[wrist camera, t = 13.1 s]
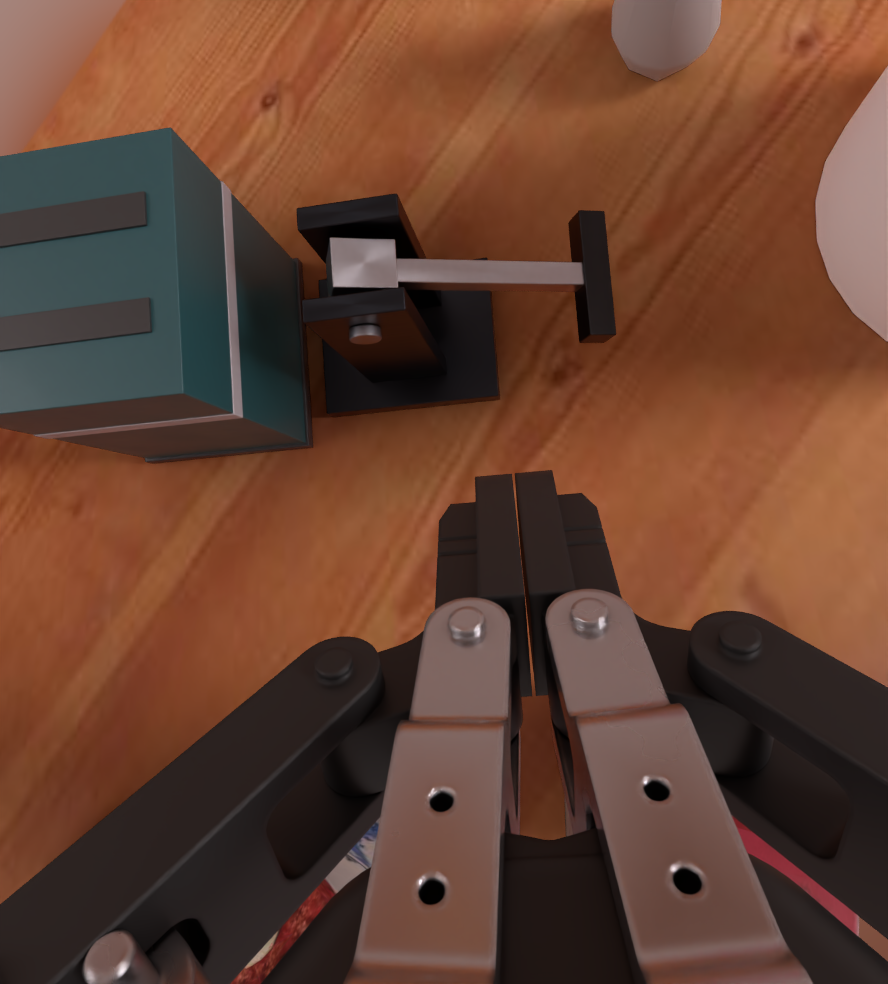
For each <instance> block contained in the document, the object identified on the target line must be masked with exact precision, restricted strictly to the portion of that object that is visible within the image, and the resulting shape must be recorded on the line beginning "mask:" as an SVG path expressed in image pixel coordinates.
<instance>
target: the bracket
mask: <svg viewBox="0 0 888 984" xmlns="http://www.w3.org/2000/svg"><path fill="white" fill-rule="evenodd" d="M297 226H298V231H299V232H300V233H301V234H302V236H303V237H304V238H305V239H306V240H307V242H308V243H309V244H310V245H311V247H312V248H313V249H314V250H315V251H316V253H317V254H318V255H319V256H320V258H321V259H322V260H323V261H324V262H325V264H326V257H327V251H328V245H329V239H330V238H331V237H336V238H372V239H395V246H396V258H405V259H426V257H425V254H424V252H423V250H422V248H421V246H420V243H419V241H418V239H417V237H416V235H415V232H414V230H413V228H412V226H411V224H410V221H409V219H408V217H407V215H406V212H405V210H404V208H403V206H402V204H401V201H400V199H399V197H398V195H397V194H389V195H383V196H376V197H369V198H363V199H356V200H349V201H343V202H336V203H329V204H322V205H316V206H309V207H302V208H297ZM473 260H488V259H487V258H481V259H473ZM319 296H320V298H314V299H306V300H302V309H303V322H304V323H305V324H306V325H307V326H308V327H309V328H310V329H312V330H313V331H314V332H315V333H316V334H317V335H318V336H320V337H321V338H322V344H323V360H324V376H325V391H326V407H327V414H329V415H330V416H332V417H340V416H349V415H359V414H368V413H378V412H387V411H397V410H406V409H416V408H425V407H435V406H444V405H454V404H463V403H473V402H482V401H492V400H500V391H499V378H498V366H497V354H496V342H495V330H494V318H493V306H492V294H491V291H462V290H405V288H404V287H399V288H391V289H383V290H376V291H368V292H360V293H353V294H345V295H337V296H329V297H328V287H327V279H324V280H319Z"/></svg>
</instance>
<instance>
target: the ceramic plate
mask: <svg viewBox="0 0 888 984" xmlns="http://www.w3.org/2000/svg"><path fill="white" fill-rule="evenodd" d="M379 821H380V818H379V819H378V820H377V821H376V822H375V824H374V825H373V826H372V827H371V828H370V829H369V830H368V831H367V832H366V834H365V835H364V836H363V837H362V838H361V839H360V840H359V841H358V842H357V844H356V845H355V846H354V847H353V848H352V849H351V850H350V851H349V852H348V854H347V855H346V856H345V857H344V858H343V859H342V860H341V861H340V862H339V864H338V865H337V866H336V867H335V868H334V869H333V870H332V871H331V872H330V874H329V875H328V876H327V877H326V878H325V879H324V880H323V881H322V882H321V883H320V885H319V886H318V887H317V888H316V889H315V890H314V891H313V892H312V893H311V895H310V896H309V897H308V898H307V899H306V900H305V901H304V902H303V903H302V905H301V906H300V907H299V908H298V909H297V910H296V911H295V912H294V913H293V915H292V916H291V917H290V918H289V919H288V920H287V921H286V922H285V923H284V925H283V926H282V927H281V928H280V929H279V930H278V931H277V932H276V933H275V935H274V936H273V937H272V938H271V939H270V940H269V941H268V942H267V943H266V945H265V946H264V947H263V948H262V949H261V950H260V951H259V952H258V953H257V954H256V956H255V957H254V958H253V959H252V960H251V961H250V962H249V963H248V964H247V966H246V967H245V968H244V969H243V970H242V971H241V972H240V973H239V974H238V976H237V977H236V978H235V979H234V980H233V981H232V982H231V983H230V984H261V983H262V981H263V980H264V979H265V978H266V977H267V975H268V974H269V973H270V972H271V971H272V969H273V968H274V967H275V966H276V965H277V963H278V962H279V961H280V960H281V958H282V957H283V956H284V955H285V954H286V952H287V951H288V950H289V949H290V948H291V946H292V945H293V944H294V943H295V941H296V940H297V939H298V938H299V937H300V935H301V934H302V933H303V932H304V931H305V929H306V928H307V927H308V926H309V924H310V923H311V922H312V921H313V920H314V918H315V917H316V916H317V915H318V913H319V912H320V911H321V910H322V909H323V907H324V906H325V905H326V904H327V903H328V902H329V901H330V899H331V898H332V897H333V896H334V895H335V894H336V893H338V892H339V891H340V890H341V889H342V888H343V887H344V886H345V885H346V884H347V883H348V882H350V881H351V880H352V879H354V878H355V877H356V876H358V875H359V874H360V873H361V872H363V871H365V870H366V869H368V868H370V867H371V865H372V860H373V854H374V849H375V843H376V838H377V832H378V827H379Z"/></svg>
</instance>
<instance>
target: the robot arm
mask: <svg viewBox="0 0 888 984" xmlns="http://www.w3.org/2000/svg"><path fill="white" fill-rule="evenodd" d="M515 483H516V496H517V510H518V523H519V537H520V546H519V537H518V527H517V518H516V509H515V499H514V490H513V481H512V474H503V475H492V476H480V477H475V491H476V502H472V503H460V504H450V506H449V507H448V509H447V510H446V512H445V513H444V515H443V516H442V517H441V519H440V520H439V536H438V539H439V542H438V558H437V579H436V601H435V611H434V612H432V614H431V615H430V616H429V618H428V619H427V621H426V624H425V628H424V631H423V632H422V633H421V634H419V635H418V636H417V637H415V638H414V639H412V640H410V641H408V642H406V643H404V644H402V645H399V646H396V647H393V648H390V649H387V650H384V651H381V652H378V653H377V651H376V649H375V648H374V647H373V646H372V645H371V644H370V643H368V642H367V641H364V640H362V639H359V638H355V637H336V638H331V639H327V640H324V641H322V642H320V643H317V644H316V645H314V646H312V647H311V648H309V649H308V650H306V651H305V652H304V653H303V654H302V655H300V656H299V657H298V658H297V659H296V660H294V661H293V662H292V663H291V664H290V665H288V666H287V667H286V668H285V669H283V670H282V671H281V672H280V673H279V674H277V675H276V676H275V677H274V678H273V679H271V680H270V681H269V682H268V683H267V684H265V685H264V686H263V687H262V688H261V689H259V690H258V691H257V692H256V693H255V694H253V695H252V696H251V697H250V698H249V699H247V700H246V701H245V702H244V703H243V704H241V705H240V706H239V707H238V708H236V709H235V710H234V711H233V712H232V713H230V714H229V715H228V716H227V717H226V718H224V719H223V720H222V721H221V722H220V723H218V724H217V725H216V726H215V727H214V728H212V729H211V730H210V731H209V732H208V733H206V734H205V735H204V736H203V737H202V738H200V739H199V740H198V741H197V742H196V743H194V744H193V745H192V746H191V747H189V748H188V749H187V750H186V751H185V752H183V753H182V754H181V755H180V756H179V757H177V758H176V759H175V760H174V761H173V762H171V763H170V764H169V765H168V766H167V767H165V768H164V769H163V770H162V771H161V772H159V773H158V774H157V775H156V776H155V777H153V778H152V779H151V780H150V781H148V782H147V783H146V784H145V785H144V786H142V787H141V788H140V789H139V790H138V791H136V792H135V793H134V794H133V795H132V796H130V797H129V798H128V799H127V800H126V801H124V802H123V803H122V804H121V805H120V806H118V807H117V808H116V809H115V810H114V811H112V812H111V813H110V814H109V815H108V816H106V817H105V818H104V819H103V820H101V821H100V822H99V823H98V824H97V825H95V826H94V827H93V828H92V829H91V830H89V831H88V832H87V833H86V834H85V835H83V836H82V837H81V838H80V839H79V840H77V841H76V842H75V843H74V844H73V845H71V846H70V847H69V848H68V849H67V850H65V851H64V852H63V853H62V854H61V855H59V856H58V857H57V858H56V859H54V860H53V861H52V862H51V863H50V864H48V865H47V866H46V867H45V868H44V869H42V870H41V871H40V872H39V873H38V874H36V875H35V876H34V877H33V878H32V879H30V880H29V881H28V882H27V883H26V884H24V885H23V886H22V887H21V888H20V889H18V890H17V891H16V892H15V893H14V894H12V895H11V896H10V897H9V898H7V899H6V900H5V901H4V902H3V903H1V904H0V984H230V983H231V982H232V981H233V980H234V979H235V978H236V977H237V976H238V974H239V973H240V972H241V971H242V970H243V969H244V968H245V967H246V966H247V964H248V963H249V962H250V961H251V960H252V959H253V958H254V957H255V956H256V954H257V953H258V952H259V951H260V950H261V949H262V948H263V947H264V946H265V945H266V943H267V942H268V941H269V940H270V939H271V938H272V937H273V936H274V935H275V933H276V932H277V931H278V930H279V929H280V928H281V927H282V926H283V925H284V923H285V922H286V921H287V920H288V919H289V918H290V917H291V916H292V915H293V913H294V912H295V911H296V910H297V909H298V908H299V907H300V906H301V905H302V903H303V902H304V901H305V900H306V899H307V898H308V897H309V896H310V895H311V893H312V892H313V891H314V890H315V889H316V888H317V887H318V886H319V885H320V883H321V882H322V881H323V880H324V879H325V878H326V877H327V876H328V875H329V874H330V872H331V871H332V870H333V869H334V868H335V867H336V866H337V865H338V864H339V862H340V861H341V860H342V859H343V858H344V857H345V856H346V855H347V854H348V852H349V851H350V850H351V849H352V848H353V847H354V846H355V845H356V844H357V842H358V841H359V840H360V839H361V838H362V837H363V836H364V835H365V834H366V832H367V831H368V830H369V829H370V828H371V827H372V826H373V825H374V824H375V822H376V821H377V820H378V819H379V818H380V821H379V827H378V832H377V838H376V843H375V849H374V854H373V860H372V865H371V867H370V868H368V869H366V870H365V871H363V872H361V873H360V874H359V875H358V876H356V877H355V878H354V879H352V880H351V881H350V882H348V883H347V884H346V885H345V886H344V887H343V888H342V889H341V890H340V891H339V892H338V893H336V894H335V895H334V896H333V897H332V898H331V899H330V901H329V902H328V903H327V904H326V905H325V906H324V907H323V909H322V910H321V911H320V912H319V913H318V915H317V916H316V917H315V918H314V920H313V921H312V922H311V923H310V924H309V926H308V927H307V928H306V929H305V931H304V932H303V933H302V934H301V935H300V937H299V938H298V939H297V940H296V941H295V943H294V944H293V945H292V946H291V948H290V949H289V950H288V951H287V952H286V954H285V955H284V956H283V957H282V958H281V960H280V961H279V962H278V963H277V965H276V966H275V967H274V968H273V969H272V971H271V972H270V973H269V974H268V975H267V977H266V978H265V979H264V980H263V981H262V983H261V984H888V962H887V961H886V960H885V959H884V958H883V957H882V956H881V955H879V954H878V953H877V952H876V951H875V950H874V949H872V948H871V947H870V946H868V944H867V943H865V942H864V941H863V940H862V939H861V938H859V937H858V936H857V935H856V934H855V933H854V932H852V931H851V930H850V929H849V928H848V927H847V926H845V925H844V924H843V923H842V922H841V921H840V920H838V919H837V918H836V917H835V916H834V915H833V914H831V913H830V912H829V911H828V910H827V909H826V908H824V907H823V906H822V905H821V904H820V903H819V902H817V901H816V900H815V899H814V898H813V897H812V896H810V895H809V894H808V893H807V892H806V891H805V890H803V889H802V888H801V887H800V886H799V885H797V884H796V883H795V882H794V881H792V880H791V879H790V878H789V877H787V876H786V875H784V874H783V873H781V872H780V871H778V870H777V869H776V868H774V867H773V866H771V865H769V864H768V863H766V862H764V861H762V860H760V859H759V858H757V857H755V856H753V855H751V854H749V853H747V851H746V849H745V846H744V844H743V841H742V839H741V837H740V834H739V832H738V830H737V827H736V825H735V822H734V820H733V818H732V816H733V817H734V818H736V819H737V820H738V821H739V822H741V823H742V824H743V825H745V826H746V827H747V828H748V829H750V830H751V831H752V832H753V833H755V834H756V835H757V836H758V837H760V838H761V839H762V840H763V841H765V842H766V843H767V844H768V845H770V846H771V847H772V848H774V849H775V850H776V851H777V852H779V853H780V854H781V855H782V856H784V857H785V858H786V859H787V860H789V861H790V862H791V863H792V864H794V865H795V866H796V867H797V868H799V869H800V870H801V871H802V872H804V873H805V874H806V875H808V876H809V877H810V878H811V879H813V880H814V881H815V882H816V883H818V884H819V885H820V886H821V887H823V888H824V889H825V890H826V891H828V892H829V893H830V894H831V895H833V896H834V897H835V898H837V899H838V900H839V901H840V902H842V903H843V904H844V905H845V906H847V907H848V908H849V909H850V910H852V911H853V912H854V913H855V914H857V915H858V916H859V917H860V918H862V919H863V920H864V921H865V922H867V923H868V924H869V925H871V926H872V927H873V928H874V929H876V930H877V931H878V932H879V933H881V934H882V935H883V936H884V937H886V938H887V939H888V687H886V686H884V685H882V684H880V683H879V682H877V681H875V680H873V679H871V678H870V677H868V676H866V675H864V674H862V673H861V672H859V671H857V670H855V669H853V668H852V667H850V666H848V665H846V664H844V663H843V662H841V661H839V660H837V659H835V658H834V657H832V656H830V655H828V654H826V653H825V652H823V651H821V650H819V649H817V648H816V647H814V646H812V645H810V644H808V643H807V642H805V641H803V640H801V639H799V638H798V637H796V636H794V635H792V634H790V633H789V632H787V631H785V630H783V629H781V628H780V627H778V626H776V625H774V624H772V623H771V622H769V621H767V620H765V619H763V618H761V617H758V616H755V615H752V614H749V613H744V612H737V611H722V612H716V613H712V614H709V615H707V616H704V617H703V618H701V619H700V620H698V621H697V622H696V623H695V624H694V626H693V627H692V629H691V631H688V630H682V629H676V628H670V627H665V626H660V625H657V624H654V623H651V622H649V621H646V620H644V619H642V618H641V617H639V616H637V615H636V614H635V613H633V611H632V609H631V607H630V606H629V605H628V604H627V603H626V602H625V601H624V600H623V599H622V597H621V595H620V591H619V587H618V584H617V580H616V576H615V573H614V569H613V565H612V562H611V558H610V554H609V551H608V547H607V543H606V541H605V536H604V532H603V529H602V525H601V521H600V518H599V514H598V510H597V507H596V506H595V505H594V504H593V503H591V502H590V501H589V500H588V499H587V498H586V497H585V496H584V495H583V494H582V493H577V494H565V495H557V492H556V487H555V482H554V477H553V472H552V470H547V471H536V472H525V473H515ZM520 549H521V555H520ZM521 560H522V565H521ZM522 570H523V574H522ZM523 579H524V583H523ZM524 589H525V593H524ZM525 598H526V606H525ZM526 607H527V616H528V626H529V635H530V644H531V654H532V663H533V672H534V681H535V691H536V696H539V695H548V696H549V704H550V712H551V730H552V738H553V743H554V748H555V752H556V757H557V762H558V766H559V771H560V775H561V780H562V785H563V789H564V794H565V799H566V803H567V808H568V813H569V817H570V822H571V826H572V831H573V835H570V836H567V837H563V838H560V839H556V840H542V839H537V838H532V837H527V836H522V835H520V760H521V736H520V728H521V725H522V721H523V713H522V702H521V697H527V696H532V687H531V674H530V660H529V646H528V633H527V619H526Z"/></svg>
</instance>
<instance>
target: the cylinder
mask: <svg viewBox="0 0 888 984" xmlns="http://www.w3.org/2000/svg"><path fill="white" fill-rule="evenodd" d="M815 205H816V233H817V243H818V246H819V249H820V252H821V255H822V258H823V261H824V264H825V267H826V270H827V273H828V276H829V279H830V280H831V282H832V283H833V285H834V286H835V288H836V289H837V290H838V292H839V293H840V295H841V296H842V298H843V299H844V301H845V302H846V304H847V305H848V306H849V308H850V309H851V311H852V312H853V313H854V314H855V315H856V316H857V317H858V318H859V319H861V320H862V321H863V322H864V323H865V324H867V325H868V326H869V327H870V328H871V329H873V330H874V331H875V332H876V333H877V334H878V335H880V336H881V337H882V338H883V339H884V340H886V341H887V342H888V66H887V67H886V69H885V70H884V72H883V73H882V75H881V76H880V77H879V79H878V80H877V82H876V83H875V85H874V86H873V87H872V89H871V90H870V92H869V93H868V95H867V96H866V97H865V99H864V100H863V102H862V103H861V105H860V106H859V108H858V109H857V110H856V112H855V113H854V115H853V116H852V118H851V119H850V120H849V122H848V123H847V125H846V126H845V128H844V130H843V132H842V133H841V135H840V137H839V138H838V140H837V142H836V144H835V145H834V147H833V149H832V151H831V152H830V154H829V156H828V158H827V159H826V161H825V165H824V169H823V172H822V176H821V180H820V184H819V188H818V192H817V196H816V200H815Z"/></svg>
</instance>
